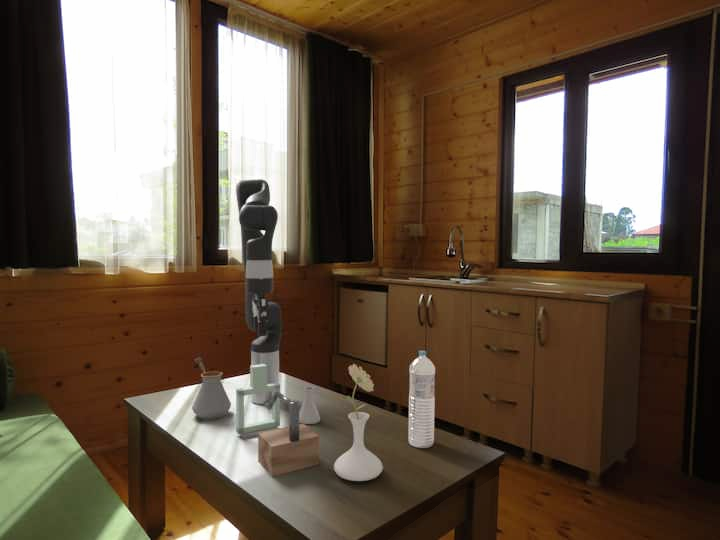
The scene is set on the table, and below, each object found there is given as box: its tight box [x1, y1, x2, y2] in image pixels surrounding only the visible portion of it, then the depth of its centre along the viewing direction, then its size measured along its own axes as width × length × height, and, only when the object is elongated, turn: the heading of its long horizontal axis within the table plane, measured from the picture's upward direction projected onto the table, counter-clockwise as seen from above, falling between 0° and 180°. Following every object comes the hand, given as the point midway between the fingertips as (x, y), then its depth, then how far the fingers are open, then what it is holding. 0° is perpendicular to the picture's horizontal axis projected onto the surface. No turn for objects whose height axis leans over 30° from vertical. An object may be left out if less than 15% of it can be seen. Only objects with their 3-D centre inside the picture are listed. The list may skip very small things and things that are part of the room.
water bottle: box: [407, 350, 436, 449], centre depth 125 cm, size 7×7×25 cm
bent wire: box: [263, 391, 300, 442], centre depth 118 cm, size 21×2×9 cm, turn 31°
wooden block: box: [257, 423, 320, 477], centre depth 113 cm, size 9×12×7 cm
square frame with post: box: [235, 364, 281, 439], centre depth 131 cm, size 5×12×19 cm, turn 121°
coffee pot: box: [191, 357, 232, 421], centre depth 148 cm, size 21×12×15 cm, turn 34°
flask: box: [299, 386, 321, 425], centre depth 141 cm, size 7×7×10 cm
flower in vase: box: [333, 363, 384, 482], centre depth 108 cm, size 13×11×25 cm
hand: (260, 333), depth 133 cm, fingers open, 8 cm apart
